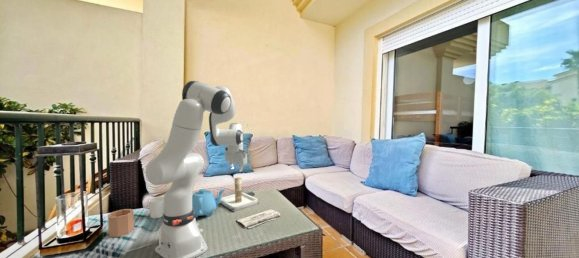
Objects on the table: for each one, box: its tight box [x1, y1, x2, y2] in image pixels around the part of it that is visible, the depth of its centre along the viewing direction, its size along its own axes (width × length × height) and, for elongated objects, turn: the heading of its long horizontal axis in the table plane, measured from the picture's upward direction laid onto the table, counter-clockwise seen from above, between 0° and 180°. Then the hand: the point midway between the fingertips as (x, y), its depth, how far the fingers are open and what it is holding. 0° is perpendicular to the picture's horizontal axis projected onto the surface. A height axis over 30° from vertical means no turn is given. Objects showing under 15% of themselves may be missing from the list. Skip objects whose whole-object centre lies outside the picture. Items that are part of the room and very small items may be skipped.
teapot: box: [192, 188, 226, 219], centre depth 128 cm, size 16×20×14 cm
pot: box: [107, 208, 135, 238], centre depth 106 cm, size 9×9×10 cm
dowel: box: [234, 177, 242, 203], centre depth 144 cm, size 4×4×15 cm
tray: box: [219, 191, 260, 212], centre depth 144 cm, size 20×18×2 cm
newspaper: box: [236, 209, 282, 229], centre depth 122 cm, size 23×12×2 cm, turn 129°
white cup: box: [148, 196, 164, 219], centre depth 123 cm, size 8×8×10 cm
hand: (236, 170), depth 144 cm, fingers open, 8 cm apart
